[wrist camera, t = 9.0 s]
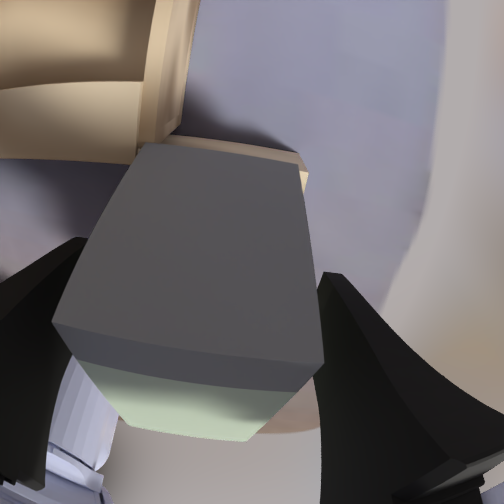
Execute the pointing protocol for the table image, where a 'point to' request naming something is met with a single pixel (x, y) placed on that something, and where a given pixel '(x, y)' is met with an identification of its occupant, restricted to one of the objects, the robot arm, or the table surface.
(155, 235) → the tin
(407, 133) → the table surface
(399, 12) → the table surface
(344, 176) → the table surface
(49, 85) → the wooden tray
